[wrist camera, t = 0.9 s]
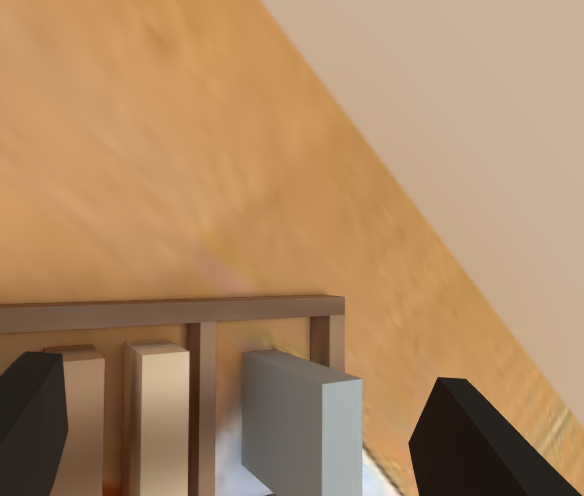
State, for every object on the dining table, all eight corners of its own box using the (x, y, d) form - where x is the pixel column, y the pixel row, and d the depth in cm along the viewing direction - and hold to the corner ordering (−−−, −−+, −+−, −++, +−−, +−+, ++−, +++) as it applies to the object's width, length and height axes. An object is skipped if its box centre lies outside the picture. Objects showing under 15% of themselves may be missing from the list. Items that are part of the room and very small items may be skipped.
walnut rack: (324, 498, 29) (344, 513, 27) (-44, 597, 20) (-50, 629, 18) (325, 294, 29) (344, 296, 28) (-36, 305, 21) (-40, 309, 19)
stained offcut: (87, 516, 23) (100, 562, 19) (39, 527, 22) (44, 577, 18) (91, 343, 23) (104, 358, 20) (43, 347, 22) (49, 363, 19)
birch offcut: (163, 499, 25) (186, 538, 21) (121, 509, 24) (139, 552, 20) (165, 338, 25) (189, 351, 21) (124, 341, 24) (142, 355, 20)
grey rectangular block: (274, 457, 28) (362, 523, 21) (241, 464, 27) (321, 536, 20) (275, 349, 28) (362, 379, 21) (242, 352, 27) (322, 384, 20)
